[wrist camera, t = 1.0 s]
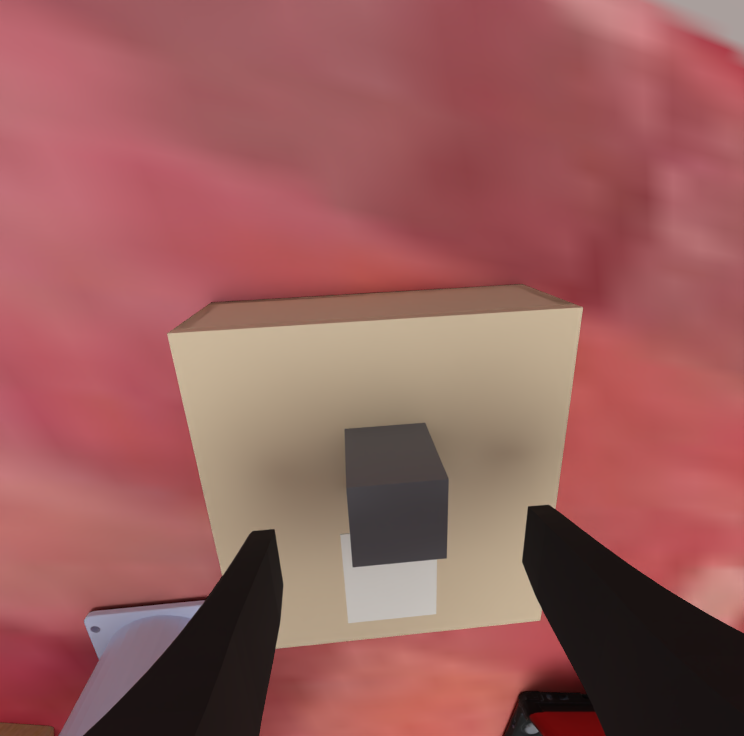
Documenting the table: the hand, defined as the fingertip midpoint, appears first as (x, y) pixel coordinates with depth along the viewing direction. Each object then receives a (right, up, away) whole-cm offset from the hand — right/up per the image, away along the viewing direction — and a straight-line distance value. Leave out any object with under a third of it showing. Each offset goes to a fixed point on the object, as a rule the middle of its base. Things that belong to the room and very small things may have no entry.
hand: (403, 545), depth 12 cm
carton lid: (0, 0, +5) cm, 5 cm away
